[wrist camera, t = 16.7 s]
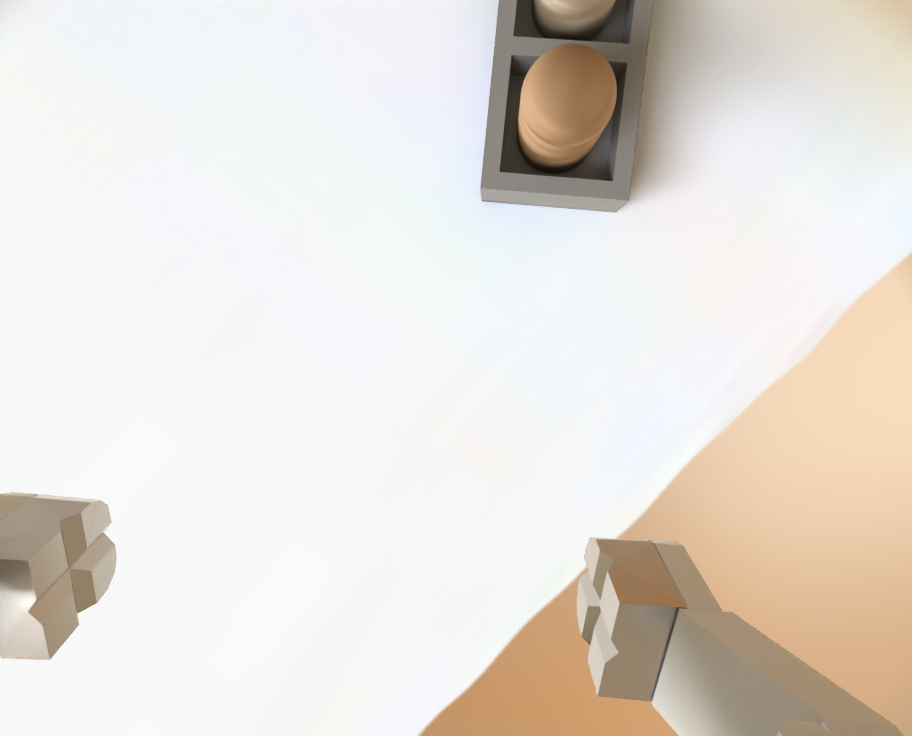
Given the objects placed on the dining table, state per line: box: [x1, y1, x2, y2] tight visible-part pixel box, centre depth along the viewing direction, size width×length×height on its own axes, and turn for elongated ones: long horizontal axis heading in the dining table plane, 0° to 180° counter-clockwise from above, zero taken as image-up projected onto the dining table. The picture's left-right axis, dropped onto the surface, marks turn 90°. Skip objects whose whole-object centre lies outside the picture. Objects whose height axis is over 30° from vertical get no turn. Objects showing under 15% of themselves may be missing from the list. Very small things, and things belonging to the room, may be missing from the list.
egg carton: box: [481, 0, 653, 212], centre depth 33 cm, size 8×16×4 cm, turn 174°
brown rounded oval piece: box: [517, 43, 617, 174], centre depth 30 cm, size 5×5×8 cm
